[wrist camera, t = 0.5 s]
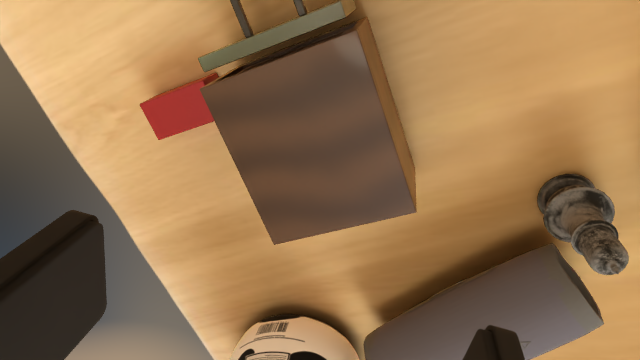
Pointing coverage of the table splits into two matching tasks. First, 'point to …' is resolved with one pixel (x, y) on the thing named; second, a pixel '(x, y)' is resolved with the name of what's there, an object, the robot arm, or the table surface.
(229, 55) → the drawer
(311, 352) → the milk container
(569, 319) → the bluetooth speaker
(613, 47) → the table surface
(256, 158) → the cabinet
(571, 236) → the salt shaker
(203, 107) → the red slab
